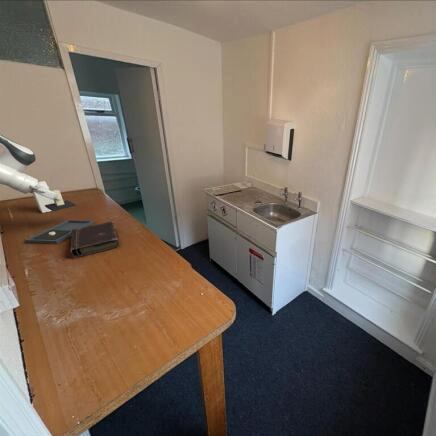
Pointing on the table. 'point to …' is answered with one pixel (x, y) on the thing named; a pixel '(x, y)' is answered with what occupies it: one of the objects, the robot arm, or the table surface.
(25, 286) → the table surface
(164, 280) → the table surface
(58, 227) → the grey shallow rectangular tray
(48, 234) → the pad
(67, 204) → the loose pad
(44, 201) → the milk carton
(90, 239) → the diary
